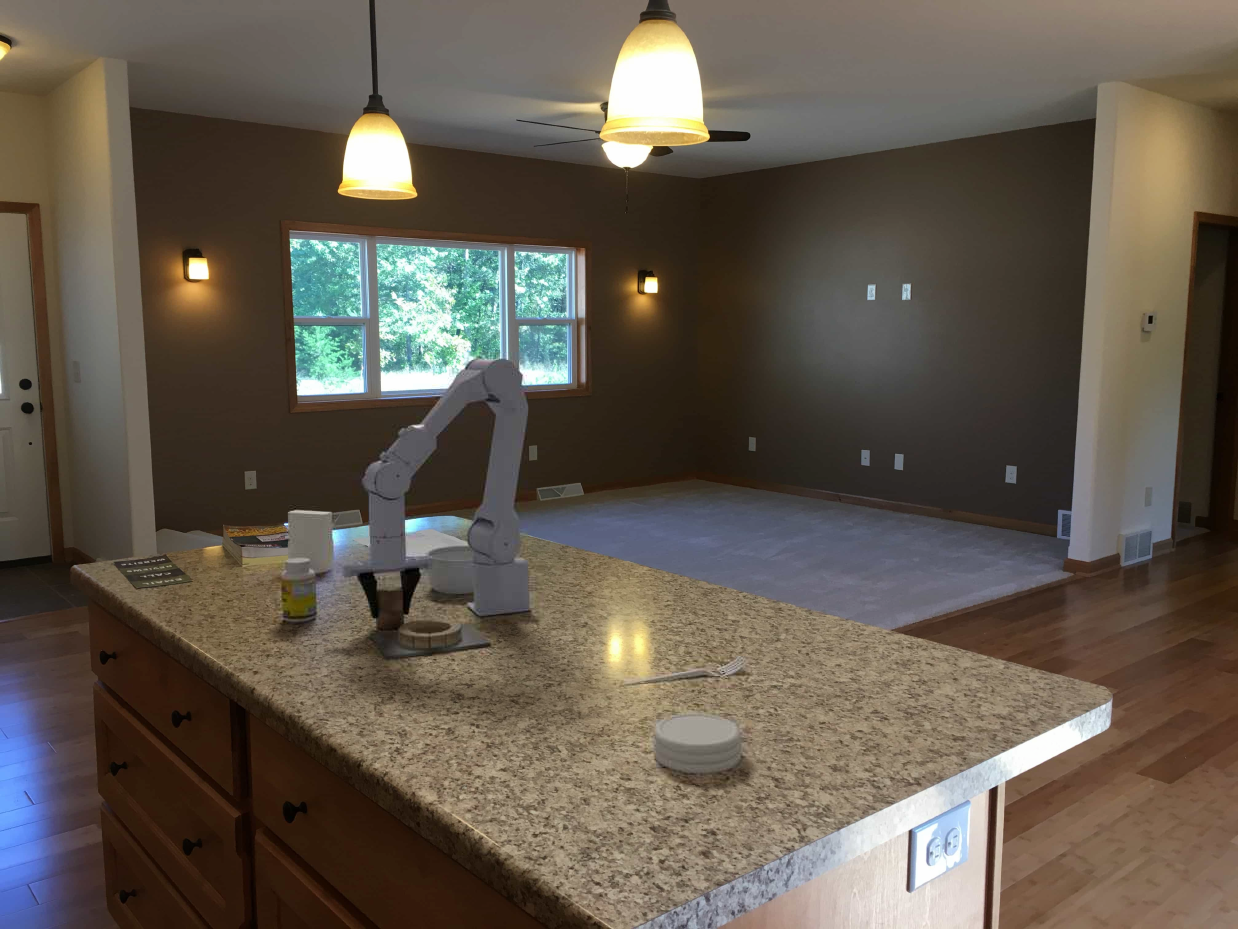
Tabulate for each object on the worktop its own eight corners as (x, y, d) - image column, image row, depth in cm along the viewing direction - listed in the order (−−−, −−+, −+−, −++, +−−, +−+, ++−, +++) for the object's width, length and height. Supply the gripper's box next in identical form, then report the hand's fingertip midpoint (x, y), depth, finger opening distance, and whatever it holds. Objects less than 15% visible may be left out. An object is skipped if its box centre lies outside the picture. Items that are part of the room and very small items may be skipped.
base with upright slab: (280, 572, 200) (277, 514, 199) (306, 563, 209) (304, 507, 207) (318, 575, 198) (315, 517, 196) (342, 565, 206) (341, 509, 205)
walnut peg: (400, 619, 164) (399, 585, 164) (406, 626, 160) (405, 591, 160) (373, 623, 163) (372, 587, 162) (379, 630, 158) (378, 594, 158)
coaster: (734, 739, 116) (734, 711, 116) (747, 776, 106) (748, 745, 106) (650, 740, 116) (650, 712, 115) (656, 777, 106) (656, 746, 105)
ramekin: (489, 596, 181) (489, 560, 180) (419, 596, 181) (418, 559, 181) (499, 579, 194) (499, 545, 194) (434, 579, 195) (433, 545, 194)
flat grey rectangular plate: (468, 625, 162) (468, 612, 162) (490, 645, 151) (490, 631, 151) (371, 637, 155) (371, 623, 155) (387, 659, 144) (386, 644, 144)
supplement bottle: (283, 615, 168) (280, 557, 167) (316, 613, 169) (314, 555, 168) (282, 624, 162) (279, 564, 161) (317, 622, 164) (314, 562, 163)
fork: (610, 687, 135) (610, 674, 135) (739, 668, 142) (739, 655, 142) (619, 695, 132) (618, 682, 132) (750, 674, 139) (750, 662, 139)
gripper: (425, 526, 166) (427, 604, 168) (338, 533, 160) (341, 614, 162) (435, 534, 160) (437, 614, 162) (345, 541, 154) (348, 625, 155)
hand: (390, 615), depth 161 cm, fingers closed on walnut peg, 4 cm apart
